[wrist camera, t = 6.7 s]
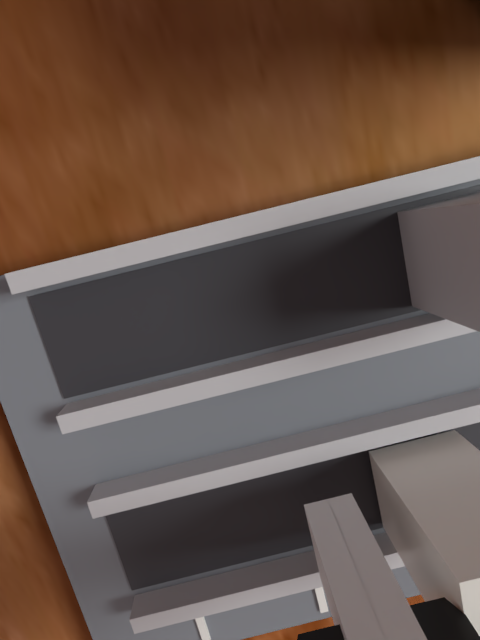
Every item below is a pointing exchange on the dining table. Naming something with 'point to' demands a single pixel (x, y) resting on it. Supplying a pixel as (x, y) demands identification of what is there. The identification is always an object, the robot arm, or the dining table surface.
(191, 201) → the dining table surface
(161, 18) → the dining table surface
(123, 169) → the dining table surface
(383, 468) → the fader cap
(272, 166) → the dining table surface
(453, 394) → the console
